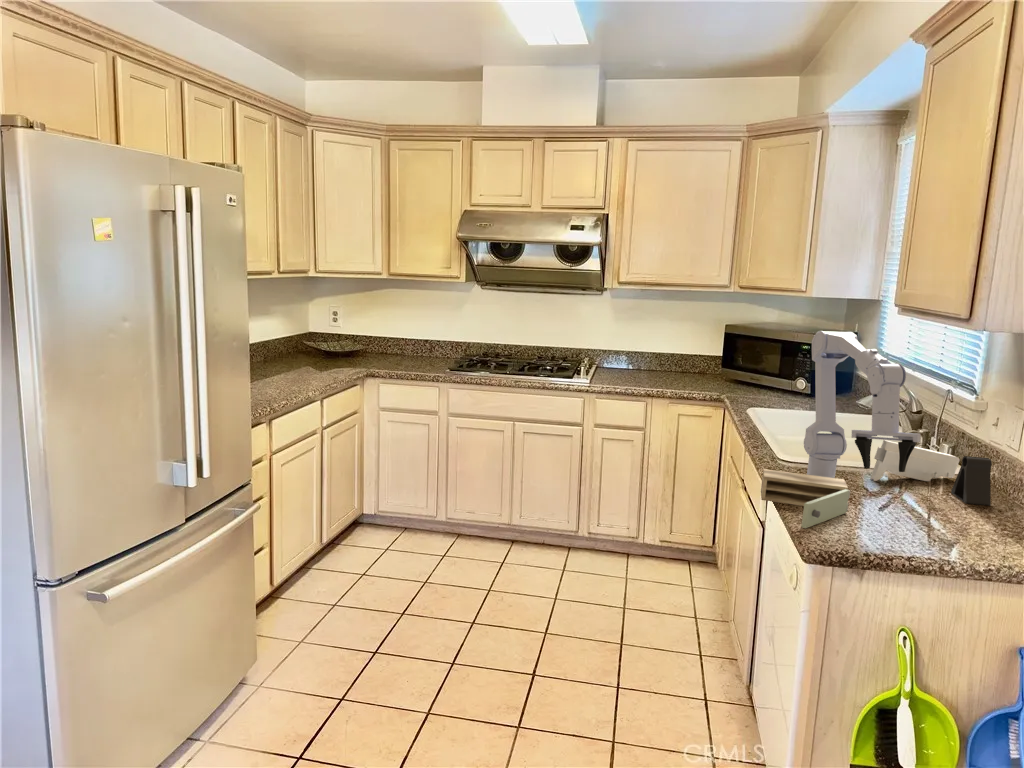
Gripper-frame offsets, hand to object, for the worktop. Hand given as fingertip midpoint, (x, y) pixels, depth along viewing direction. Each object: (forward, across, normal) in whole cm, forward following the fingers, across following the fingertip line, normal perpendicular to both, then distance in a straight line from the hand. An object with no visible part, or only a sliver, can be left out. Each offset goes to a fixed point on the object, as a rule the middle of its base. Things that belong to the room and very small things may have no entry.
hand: (884, 470), depth 160 cm
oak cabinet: (+11, -21, +3) cm, 23 cm away
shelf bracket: (+7, -7, +49) cm, 50 cm away
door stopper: (+10, +9, +44) cm, 46 cm away
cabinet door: (+13, -11, -6) cm, 18 cm away
